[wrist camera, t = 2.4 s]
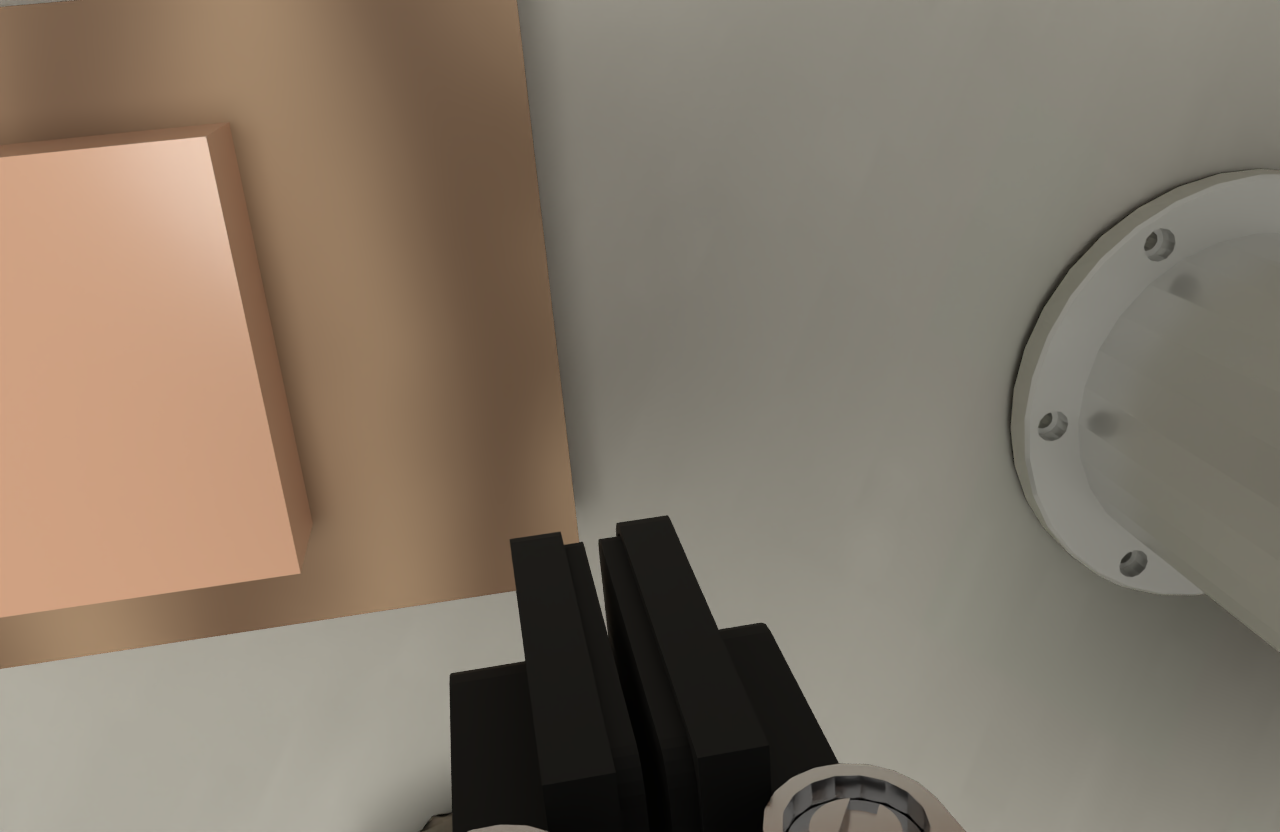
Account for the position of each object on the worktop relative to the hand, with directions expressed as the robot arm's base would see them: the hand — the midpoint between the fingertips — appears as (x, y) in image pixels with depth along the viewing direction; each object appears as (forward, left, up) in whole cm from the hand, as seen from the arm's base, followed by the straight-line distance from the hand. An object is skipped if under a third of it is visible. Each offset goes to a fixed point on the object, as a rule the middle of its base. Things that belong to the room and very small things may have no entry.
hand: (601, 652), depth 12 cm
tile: (+8, 0, -14) cm, 17 cm away
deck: (+7, 0, -18) cm, 20 cm away
